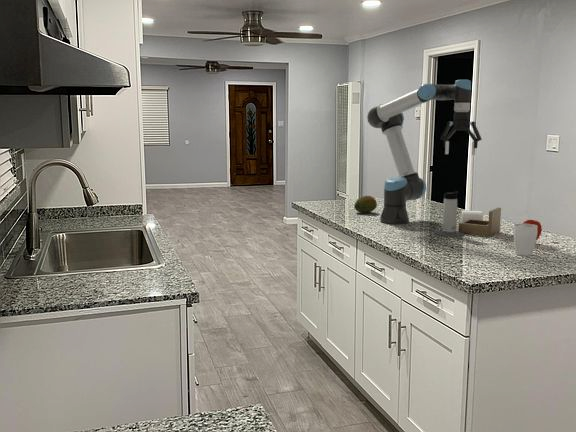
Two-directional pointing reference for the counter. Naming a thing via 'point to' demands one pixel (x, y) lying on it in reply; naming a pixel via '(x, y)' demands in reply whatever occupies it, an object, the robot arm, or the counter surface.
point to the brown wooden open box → (482, 225)
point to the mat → (449, 234)
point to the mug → (471, 215)
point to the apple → (539, 228)
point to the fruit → (365, 204)
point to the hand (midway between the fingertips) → (459, 154)
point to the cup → (525, 239)
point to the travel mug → (450, 213)
